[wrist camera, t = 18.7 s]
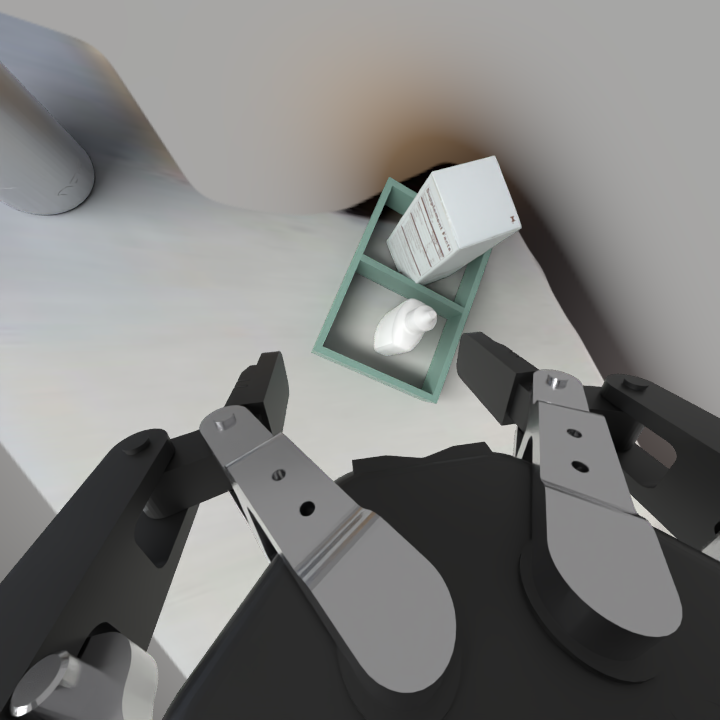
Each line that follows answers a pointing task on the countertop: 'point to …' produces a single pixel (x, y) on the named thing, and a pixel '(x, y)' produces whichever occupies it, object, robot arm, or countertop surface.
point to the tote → (398, 283)
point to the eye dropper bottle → (403, 327)
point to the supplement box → (453, 221)
